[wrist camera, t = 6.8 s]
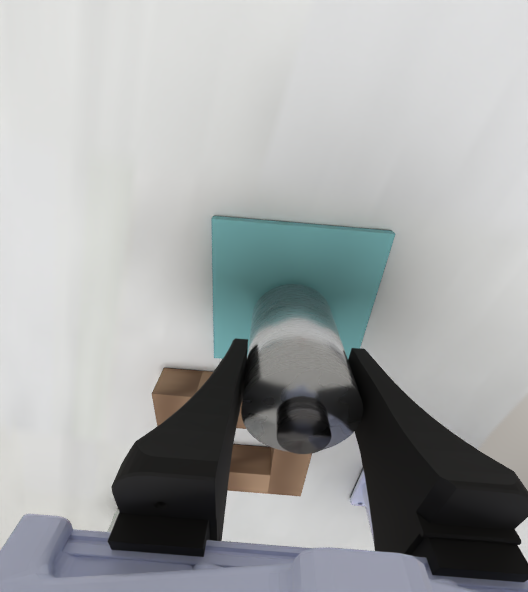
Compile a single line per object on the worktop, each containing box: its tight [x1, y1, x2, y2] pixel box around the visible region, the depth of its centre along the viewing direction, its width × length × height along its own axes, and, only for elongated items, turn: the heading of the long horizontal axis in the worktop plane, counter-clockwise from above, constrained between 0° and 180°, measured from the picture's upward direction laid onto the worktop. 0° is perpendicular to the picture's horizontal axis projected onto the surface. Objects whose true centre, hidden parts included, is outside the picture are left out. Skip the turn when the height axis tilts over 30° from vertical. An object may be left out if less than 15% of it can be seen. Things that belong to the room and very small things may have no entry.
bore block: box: [152, 368, 312, 496], centre depth 24 cm, size 12×12×2 cm
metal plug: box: [241, 284, 363, 454], centre depth 14 cm, size 5×5×8 cm
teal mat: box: [212, 216, 395, 359], centre depth 18 cm, size 10×10×1 cm
